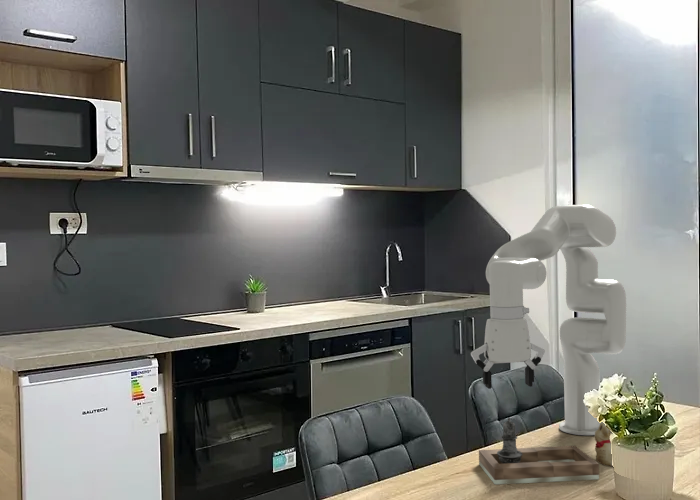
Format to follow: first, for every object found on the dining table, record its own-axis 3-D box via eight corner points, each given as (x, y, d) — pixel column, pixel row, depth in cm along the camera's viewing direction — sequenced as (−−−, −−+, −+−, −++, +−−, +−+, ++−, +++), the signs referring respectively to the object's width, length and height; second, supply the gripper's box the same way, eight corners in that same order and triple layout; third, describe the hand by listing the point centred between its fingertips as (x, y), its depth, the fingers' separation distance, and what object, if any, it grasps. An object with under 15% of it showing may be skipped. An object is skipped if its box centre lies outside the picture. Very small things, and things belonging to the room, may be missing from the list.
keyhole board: (575, 459, 176) (574, 445, 176) (599, 479, 162) (598, 463, 162) (479, 464, 175) (478, 450, 175) (494, 484, 161) (494, 468, 161)
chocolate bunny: (619, 457, 177) (618, 417, 177) (617, 467, 170) (617, 425, 170) (595, 455, 180) (594, 415, 179) (593, 465, 172) (592, 423, 172)
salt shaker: (521, 464, 171) (520, 414, 170) (524, 472, 165) (523, 420, 165) (495, 464, 171) (495, 414, 171) (498, 472, 166) (497, 420, 165)
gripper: (537, 310, 172) (539, 381, 172) (466, 313, 170) (468, 384, 171) (548, 313, 164) (550, 388, 165) (474, 317, 163) (476, 392, 163)
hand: (508, 386), depth 168 cm, fingers open, 9 cm apart
